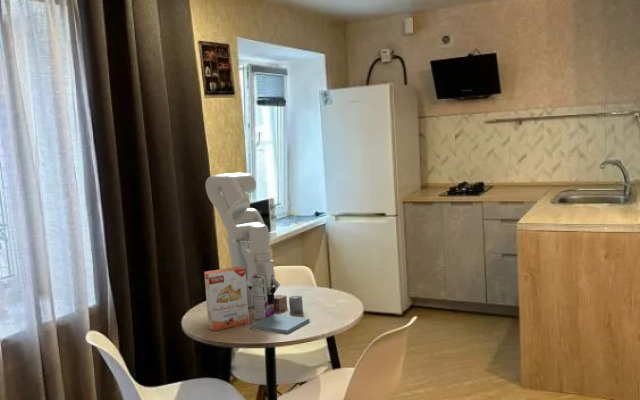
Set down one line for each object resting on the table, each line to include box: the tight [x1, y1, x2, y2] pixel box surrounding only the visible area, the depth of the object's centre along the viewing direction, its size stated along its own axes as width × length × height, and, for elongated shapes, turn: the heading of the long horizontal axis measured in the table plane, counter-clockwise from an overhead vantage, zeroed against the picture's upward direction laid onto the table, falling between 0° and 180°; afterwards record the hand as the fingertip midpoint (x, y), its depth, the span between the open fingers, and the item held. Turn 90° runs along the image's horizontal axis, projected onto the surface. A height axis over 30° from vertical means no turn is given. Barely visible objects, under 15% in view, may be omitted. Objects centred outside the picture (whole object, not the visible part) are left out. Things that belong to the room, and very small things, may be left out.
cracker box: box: [203, 266, 250, 332], centre depth 208 cm, size 14×6×21 cm, turn 117°
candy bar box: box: [251, 275, 276, 320], centre depth 218 cm, size 11×5×16 cm, turn 168°
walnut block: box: [274, 294, 288, 312], centre depth 226 cm, size 5×5×5 cm
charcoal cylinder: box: [288, 295, 304, 316], centre depth 219 cm, size 5×5×6 cm
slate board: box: [250, 313, 311, 334], centre depth 205 cm, size 16×14×1 cm
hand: (263, 302), depth 218 cm, fingers closed on candy bar box, 6 cm apart
